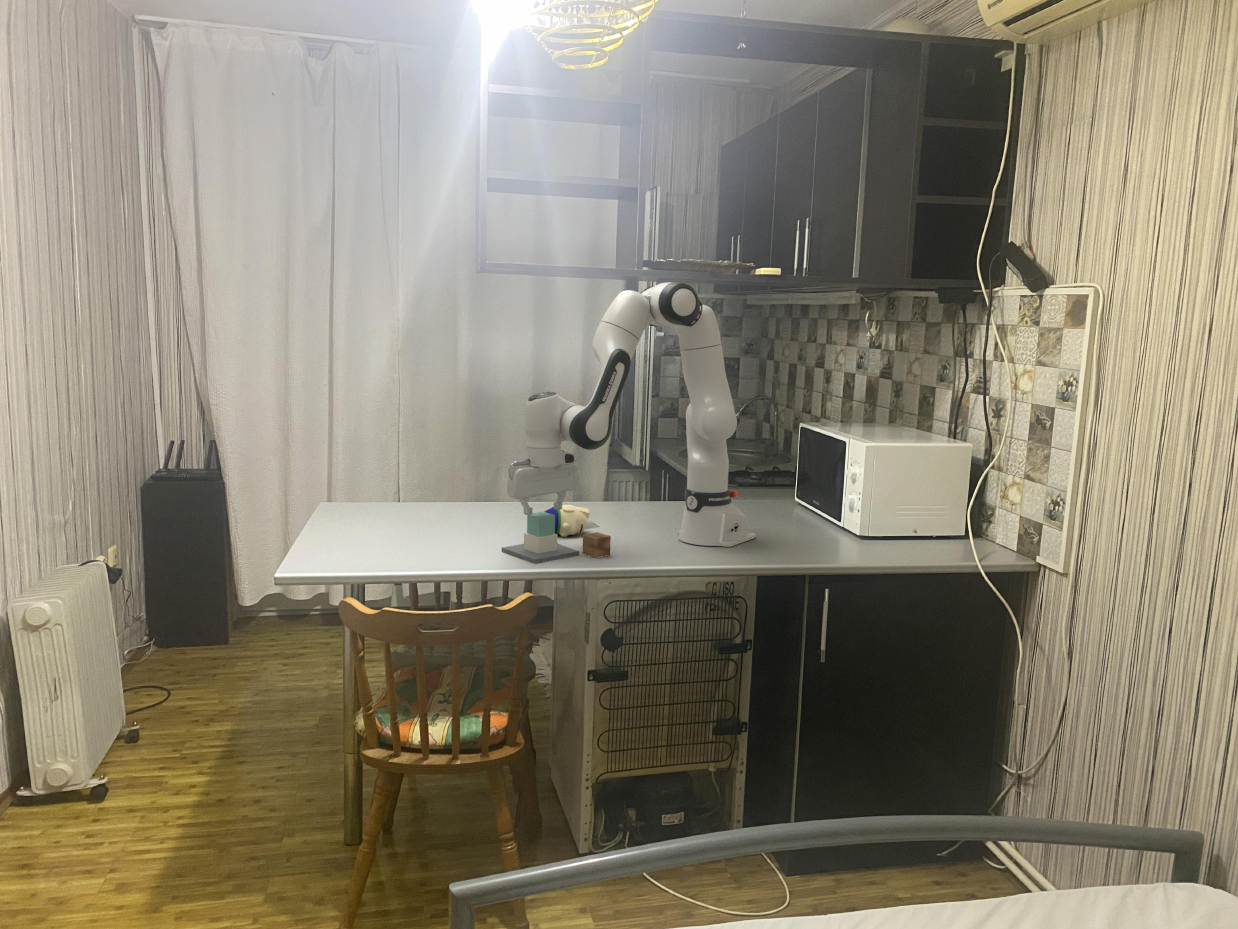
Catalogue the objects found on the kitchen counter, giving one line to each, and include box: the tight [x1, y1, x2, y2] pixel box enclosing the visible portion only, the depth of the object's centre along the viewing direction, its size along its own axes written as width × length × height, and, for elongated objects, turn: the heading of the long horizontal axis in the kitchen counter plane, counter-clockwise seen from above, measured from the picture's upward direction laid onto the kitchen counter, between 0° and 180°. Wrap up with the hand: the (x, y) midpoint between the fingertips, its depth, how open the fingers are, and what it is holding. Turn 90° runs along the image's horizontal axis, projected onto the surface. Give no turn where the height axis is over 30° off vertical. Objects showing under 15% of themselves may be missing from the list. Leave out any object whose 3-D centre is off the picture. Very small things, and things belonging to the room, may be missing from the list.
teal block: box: [526, 511, 555, 537], centre depth 232 cm, size 5×5×5 cm
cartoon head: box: [543, 504, 600, 538], centre depth 253 cm, size 9×10×20 cm
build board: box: [501, 532, 580, 564], centre depth 233 cm, size 14×14×5 cm
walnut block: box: [582, 532, 612, 559], centre depth 234 cm, size 5×5×5 cm
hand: (543, 511), depth 232 cm, fingers open, 8 cm apart
